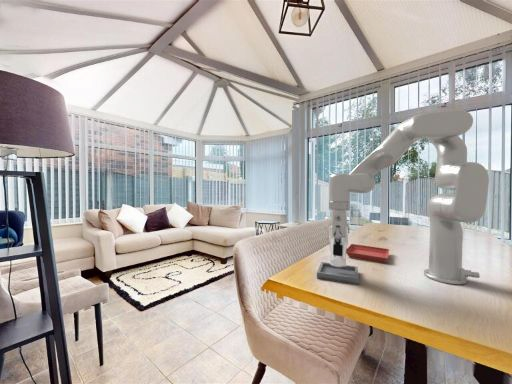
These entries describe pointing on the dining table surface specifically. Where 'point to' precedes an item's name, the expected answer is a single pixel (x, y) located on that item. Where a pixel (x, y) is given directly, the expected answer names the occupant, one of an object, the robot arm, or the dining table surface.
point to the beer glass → (341, 260)
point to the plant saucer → (367, 253)
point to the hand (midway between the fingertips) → (338, 252)
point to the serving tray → (338, 273)
